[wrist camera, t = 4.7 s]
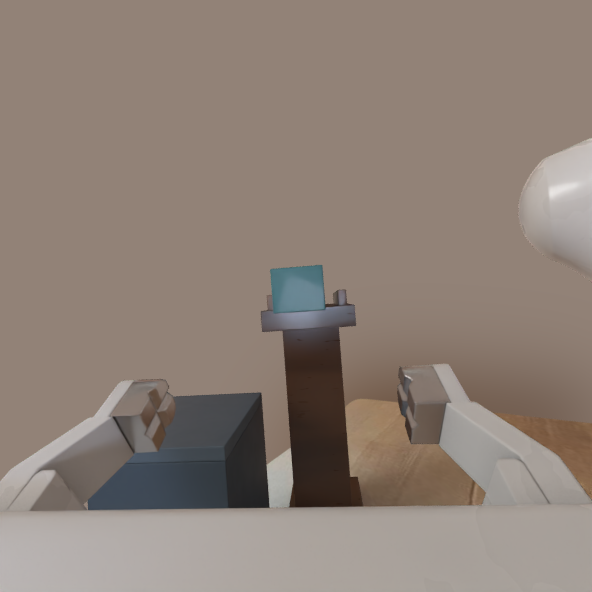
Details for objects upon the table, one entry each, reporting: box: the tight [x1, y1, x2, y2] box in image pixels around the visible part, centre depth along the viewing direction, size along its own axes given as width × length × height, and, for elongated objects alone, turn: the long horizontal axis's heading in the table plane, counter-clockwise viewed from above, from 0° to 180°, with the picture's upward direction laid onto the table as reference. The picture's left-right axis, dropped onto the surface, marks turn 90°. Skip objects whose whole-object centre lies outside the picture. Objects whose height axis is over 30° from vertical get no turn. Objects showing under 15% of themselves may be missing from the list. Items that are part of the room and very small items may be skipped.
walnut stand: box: [261, 290, 363, 508], centre depth 37 cm, size 16×9×28 cm, turn 175°
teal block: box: [270, 265, 325, 314], centre depth 32 cm, size 23×4×3 cm, turn 175°
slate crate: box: [88, 393, 269, 510], centre depth 27 cm, size 12×10×18 cm
